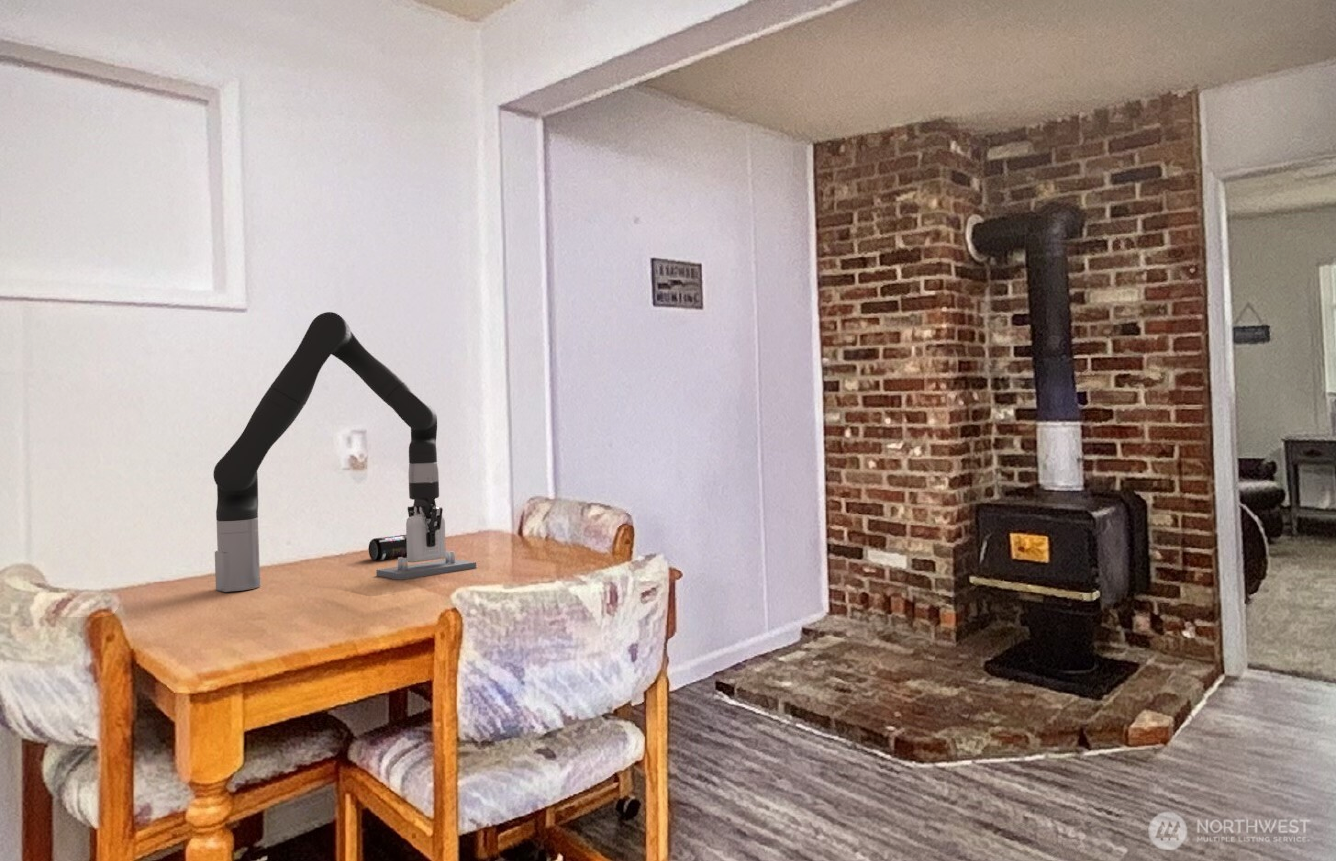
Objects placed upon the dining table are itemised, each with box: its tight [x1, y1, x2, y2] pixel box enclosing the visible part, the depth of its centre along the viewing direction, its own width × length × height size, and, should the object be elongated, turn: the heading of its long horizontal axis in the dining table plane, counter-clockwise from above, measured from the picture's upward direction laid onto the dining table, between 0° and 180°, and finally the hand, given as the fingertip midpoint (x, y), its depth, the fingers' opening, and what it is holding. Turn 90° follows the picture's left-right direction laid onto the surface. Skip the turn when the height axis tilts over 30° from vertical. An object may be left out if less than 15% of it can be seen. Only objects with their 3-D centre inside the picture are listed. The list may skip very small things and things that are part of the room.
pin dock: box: [375, 550, 477, 581], centre depth 226 cm, size 12×22×4 cm, turn 136°
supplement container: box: [368, 534, 407, 562], centre depth 252 cm, size 7×7×10 cm
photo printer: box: [405, 514, 447, 563], centre depth 226 cm, size 10×4×12 cm, turn 134°
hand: (426, 545), depth 226 cm, fingers closed on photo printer, 4 cm apart
